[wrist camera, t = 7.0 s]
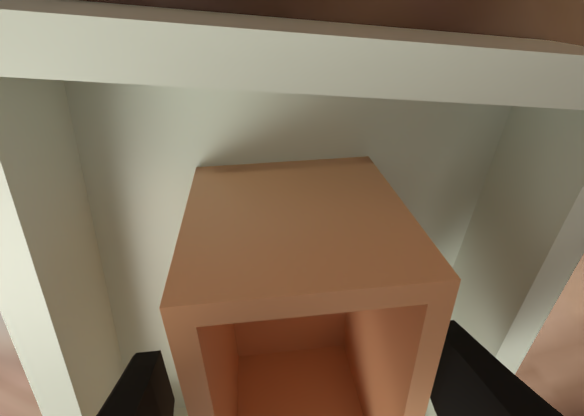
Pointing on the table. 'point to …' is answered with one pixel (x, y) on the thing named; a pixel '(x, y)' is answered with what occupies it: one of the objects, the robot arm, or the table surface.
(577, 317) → the table surface
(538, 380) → the table surface
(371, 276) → the box
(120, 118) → the big crate
